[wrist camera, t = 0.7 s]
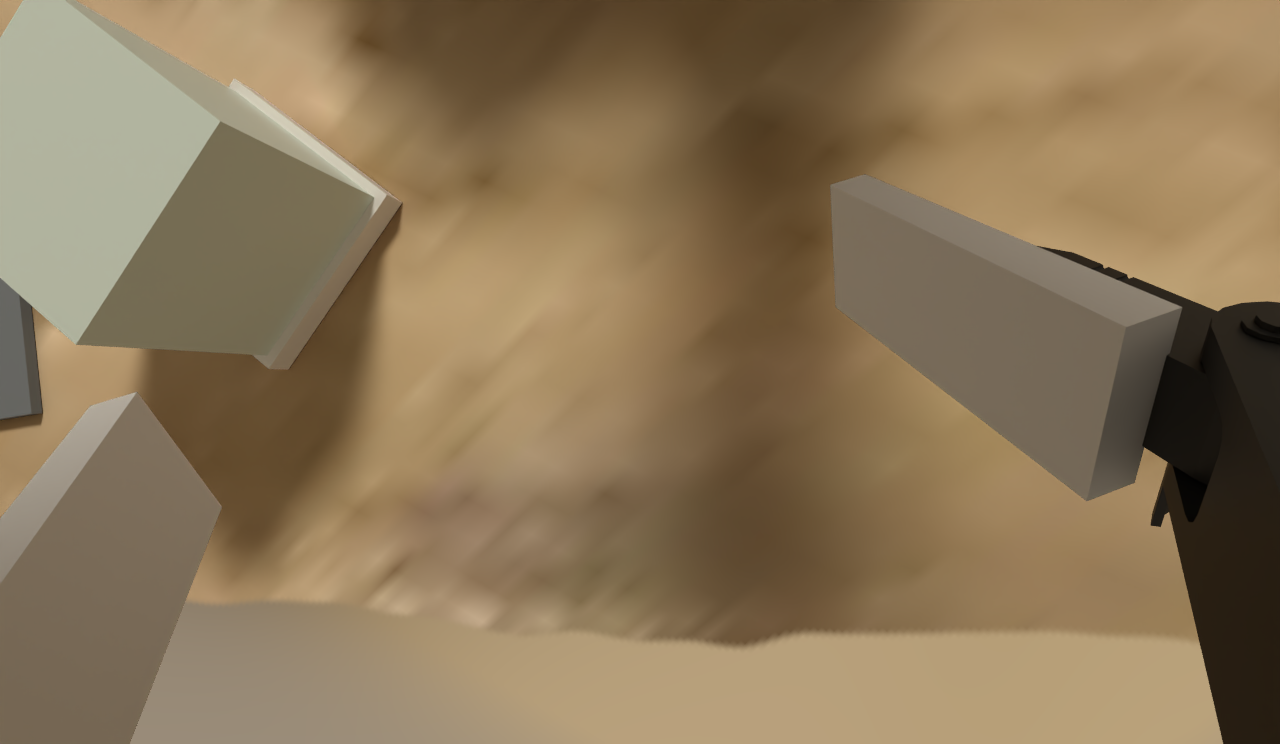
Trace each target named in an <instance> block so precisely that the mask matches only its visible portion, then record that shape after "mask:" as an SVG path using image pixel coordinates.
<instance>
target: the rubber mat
mask: <svg viewBox="0 0 1280 744" xmlns="http://www.w3.org/2000/svg"><path fill="white" fill-rule="evenodd" d="M41 413H42V404H41V395H40V385H39V376H38V366H37V356H36V347H35V337H34V328H33V318H32V309H31V305H30V304H29V303H28V302H27V301H26V300H25V299H24V298H22V297H21V296H20V295H19V294H18V293H17V292H16V291H14V290H13V289H12V288H11V287H10V286H9V285H8V284H7V283H5V282H4V281H3V280H2V279H1V278H0V420H4V419H10V418H16V417H22V416H29V415H35V414H41Z"/></svg>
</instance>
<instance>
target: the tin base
mask: <svg viewBox="0 0 1280 744" xmlns="http://www.w3.org/2000/svg"><path fill="white" fill-rule="evenodd" d="M229 88H231V89H233V90H234V91H236V92H237V93H239V94H240V95H241V96H243V97H244V98H245V99H246V100H248V101H249V102H250V103H252V104H253V105H254V106H256V107H257V108H258V109H260V110H261V111H262V112H263V113H265V114H266V115H267V116H269V117H270V118H271V119H273V120H274V121H275V122H277V123H278V124H279V125H280V126H282V127H283V128H284V129H286V130H287V131H288V132H290V133H291V134H292V135H294V136H295V137H296V138H297V139H299V140H300V141H301V142H303V143H304V144H305V145H307V146H308V147H309V148H311V149H312V150H313V151H314V152H316V153H317V154H318V155H320V156H321V157H322V158H324V159H325V160H326V161H328V162H329V163H330V164H331V165H333V166H334V167H335V168H337V169H338V170H339V171H341V172H342V173H343V174H345V175H346V176H347V177H348V178H350V179H351V180H352V181H354V182H355V183H356V184H358V185H359V186H360V187H361V188H363V189H364V190H365V191H367V192H368V193H369V194H371V195H372V196H373V197H374V199H373V200H372V202H371V203H370V205H369V206H368V208H367V209H366V210H365V212H364V213H363V215H362V216H361V218H360V219H359V221H358V222H357V224H356V225H355V227H354V228H353V230H352V231H351V233H350V234H349V236H348V237H347V238H346V240H345V241H344V243H343V244H342V246H341V247H340V249H339V250H338V252H337V253H336V255H335V256H334V258H333V259H332V261H331V262H330V264H329V265H328V266H327V268H326V269H325V271H324V272H323V274H322V275H321V277H320V278H319V280H318V281H317V283H316V284H315V286H314V287H313V289H312V290H311V292H310V293H309V294H308V296H307V297H306V299H305V300H304V302H303V303H302V305H301V306H300V308H299V309H298V311H297V312H296V314H295V315H294V317H293V318H292V320H291V321H290V323H289V324H288V325H287V327H286V328H285V330H284V331H283V333H282V334H281V336H280V337H279V339H278V340H277V342H276V343H275V345H274V346H273V348H272V349H271V351H270V352H269V353H268V355H267V356H266V355H253V356H254V357H255V358H256V359H257V360H259V361H260V362H261V363H262V364H263V365H264V366H266V367H267V368H268V369H285V370H288V369H289V368H290V366H291V365H292V364H293V362H294V361H295V359H296V358H297V356H298V355H299V353H300V352H301V350H302V349H303V347H304V346H305V344H306V343H307V342H308V340H309V339H310V337H311V336H312V334H313V333H314V331H315V330H316V328H317V327H318V325H319V324H320V323H321V321H322V320H323V318H324V317H325V315H326V314H327V312H328V311H329V309H330V308H331V306H332V305H333V303H334V302H335V301H336V299H337V298H338V296H339V295H340V293H341V292H342V290H343V289H344V287H345V286H346V284H347V283H348V282H349V280H350V279H351V277H352V276H353V274H354V273H355V271H356V270H357V268H358V267H359V265H360V264H361V262H362V261H363V260H364V258H365V257H366V255H367V254H368V252H369V251H370V249H371V248H372V246H373V245H374V243H375V242H376V241H377V239H378V238H379V236H380V235H381V233H382V232H383V230H384V229H385V227H386V226H387V224H388V223H389V221H390V220H391V219H392V217H393V216H394V214H395V213H396V211H397V210H398V208H399V207H400V205H401V204H402V202H401V201H400V200H398V199H397V198H396V197H394V196H393V195H392V194H390V193H389V192H388V191H386V190H385V189H384V188H382V187H381V186H380V185H378V184H377V183H376V182H375V181H373V180H372V179H371V178H369V177H368V176H367V175H365V174H364V173H363V172H361V171H360V170H359V169H357V168H356V167H355V166H353V165H352V164H351V163H350V162H348V161H347V160H346V159H344V158H343V157H342V156H340V155H339V154H338V153H336V152H335V151H334V150H332V149H331V148H330V147H329V146H327V145H326V144H325V143H323V142H322V141H321V140H319V139H318V138H317V137H315V136H314V135H313V134H311V133H310V132H309V131H307V130H306V129H305V128H304V127H302V126H301V125H300V124H298V123H297V122H296V121H294V120H293V119H292V118H290V117H289V116H288V115H286V114H285V113H284V112H282V111H281V110H280V109H279V108H277V107H276V106H275V105H273V104H272V103H271V102H269V101H268V100H267V99H265V98H264V97H263V96H261V95H260V94H259V93H257V92H256V91H255V90H253V89H251V88H250V87H248V86H246V85H245V84H243V83H241V82H240V81H238V80H236V79H235V78H234V79H233V81H232V82H231V84H230V86H229Z"/></svg>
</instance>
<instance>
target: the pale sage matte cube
mask: <svg viewBox="0 0 1280 744" xmlns="http://www.w3.org/2000/svg"><path fill="white" fill-rule="evenodd" d="M373 199H374V197H373V196H372V195H371V194H369V193H368V192H367V191H365V190H364V189H363V188H361V187H360V186H359V185H358V184H356V183H355V182H354V181H352V180H351V179H350V178H348V177H347V176H346V175H345V174H343V173H342V172H341V171H339V170H338V169H337V168H335V167H334V166H333V165H331V164H330V163H329V162H328V161H326V160H325V159H324V158H322V157H321V156H320V155H318V154H317V153H316V152H314V151H313V150H312V149H311V148H309V147H308V146H307V145H305V144H304V143H303V142H301V141H300V140H299V139H297V138H296V137H295V136H294V135H292V134H291V133H290V132H288V131H287V130H286V129H284V128H283V127H282V126H280V125H279V124H278V123H277V122H275V121H274V120H273V119H271V118H270V117H269V116H267V115H266V114H265V113H263V112H262V111H261V110H260V109H258V108H257V107H256V106H254V105H253V104H252V103H250V102H249V101H248V100H246V99H245V98H244V97H243V96H241V95H240V94H239V93H237V92H236V91H234V90H233V89H231V88H229V87H227V86H226V85H224V84H222V83H220V82H218V81H217V80H215V79H213V78H211V77H210V76H208V75H206V74H204V73H203V72H201V71H199V70H197V69H196V68H194V67H192V66H190V65H189V64H187V63H185V62H183V61H181V60H180V59H178V58H176V57H174V56H173V55H171V54H169V53H167V52H166V51H164V50H162V49H160V48H159V47H157V46H155V45H153V44H151V43H150V42H148V41H146V40H144V39H143V38H141V37H139V36H137V35H136V34H134V33H132V32H130V31H129V30H127V29H125V28H123V27H122V26H120V25H118V24H116V23H114V22H113V21H111V20H109V19H107V18H106V17H104V16H102V15H100V14H99V13H97V12H95V11H93V10H92V9H90V8H88V7H86V6H85V5H83V4H81V3H79V2H77V1H76V0H23V1H22V3H21V5H20V6H19V8H18V10H17V11H16V13H15V15H14V16H13V18H12V19H11V21H10V23H9V24H8V26H7V28H6V29H5V31H4V33H3V34H2V36H1V38H0V278H1V279H2V280H3V281H4V282H5V283H7V284H8V285H9V286H10V287H11V288H12V289H13V290H14V291H16V292H17V293H18V294H19V295H20V296H21V297H22V298H24V299H25V300H26V301H27V302H28V303H29V304H30V305H31V306H33V307H34V308H35V309H36V310H37V311H38V312H39V313H41V314H42V315H43V316H44V317H45V318H46V319H47V320H48V321H50V322H51V323H52V324H53V325H54V326H55V327H56V328H58V329H59V330H60V331H61V332H62V333H63V334H64V335H65V336H67V337H68V338H69V339H70V340H71V341H72V342H73V343H75V344H76V345H91V346H109V347H126V348H144V349H161V350H178V351H196V352H213V353H231V354H248V355H266V356H267V355H268V353H269V352H270V351H271V349H272V348H273V346H274V345H275V343H276V342H277V340H278V339H279V337H280V336H281V334H282V333H283V331H284V330H285V328H286V327H287V325H288V324H289V323H290V321H291V320H292V318H293V317H294V315H295V314H296V312H297V311H298V309H299V308H300V306H301V305H302V303H303V302H304V300H305V299H306V297H307V296H308V294H309V293H310V292H311V290H312V289H313V287H314V286H315V284H316V283H317V281H318V280H319V278H320V277H321V275H322V274H323V272H324V271H325V269H326V268H327V266H328V265H329V264H330V262H331V261H332V259H333V258H334V256H335V255H336V253H337V252H338V250H339V249H340V247H341V246H342V244H343V243H344V241H345V240H346V238H347V237H348V236H349V234H350V233H351V231H352V230H353V228H354V227H355V225H356V224H357V222H358V221H359V219H360V218H361V216H362V215H363V213H364V212H365V210H366V209H367V208H368V206H369V205H370V203H371V202H372V200H373Z"/></svg>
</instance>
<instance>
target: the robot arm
mask: <svg viewBox="0 0 1280 744" xmlns="http://www.w3.org/2000/svg"><path fill="white" fill-rule="evenodd" d="M830 190H831V213H832V236H833V258H834V281H835V304H836V308H837V309H839V310H840V311H841V312H843V313H844V314H845V315H847V316H848V317H849V318H850V319H852V320H853V321H854V322H856V323H857V324H858V325H859V326H861V327H862V328H863V329H865V330H866V331H867V332H869V333H870V334H871V335H872V336H874V337H875V338H876V339H878V340H879V341H880V342H881V343H883V344H884V345H885V346H887V347H888V348H889V349H891V350H892V351H893V352H894V353H896V354H897V355H898V356H900V357H901V358H902V359H903V360H905V361H906V362H907V363H909V364H910V365H911V366H912V367H914V368H915V369H916V370H918V371H919V372H920V373H922V374H923V375H924V376H925V377H927V378H928V379H929V380H931V381H932V382H933V383H934V384H936V385H937V386H938V387H940V388H941V389H942V390H944V391H945V392H946V393H947V394H949V395H950V396H951V397H953V398H954V399H955V400H956V401H958V402H959V403H960V404H962V405H963V406H964V407H966V408H967V409H968V410H969V411H971V412H972V413H973V414H975V415H976V416H977V417H978V418H980V419H981V420H982V421H984V422H985V423H986V424H988V425H989V426H990V427H991V428H993V429H994V430H995V431H997V432H998V433H999V434H1000V435H1002V436H1003V437H1004V438H1006V439H1007V440H1008V441H1010V442H1011V443H1012V444H1013V445H1015V446H1016V447H1017V448H1019V449H1020V450H1021V451H1022V452H1024V453H1025V454H1026V455H1028V456H1029V457H1030V458H1032V459H1033V460H1034V461H1035V462H1037V463H1038V464H1039V465H1041V466H1042V467H1043V468H1044V469H1046V470H1047V471H1048V472H1050V473H1051V474H1052V475H1054V476H1055V477H1056V478H1057V479H1059V480H1060V481H1061V482H1063V483H1064V484H1065V485H1066V486H1068V487H1069V488H1070V489H1072V490H1073V491H1074V492H1075V493H1077V494H1078V495H1079V496H1081V497H1082V498H1083V499H1085V500H1086V501H1089V500H1091V499H1094V498H1096V497H1099V496H1101V495H1104V494H1107V493H1109V492H1112V491H1114V490H1117V489H1120V488H1122V487H1125V486H1127V485H1130V484H1132V483H1135V479H1136V475H1137V472H1138V468H1139V464H1140V461H1141V457H1142V453H1143V450H1144V447H1145V448H1146V449H1148V450H1150V451H1151V452H1153V453H1154V454H1156V455H1157V456H1159V457H1161V458H1162V459H1164V460H1165V461H1167V462H1168V463H1167V467H1166V470H1165V473H1164V477H1163V480H1162V483H1161V487H1160V490H1159V493H1158V497H1157V500H1156V503H1155V506H1154V510H1153V513H1152V519H1151V526H1158V527H1161V524H1162V521H1163V518H1164V515H1165V514H1166V513H1168V512H1169V513H1170V517H1171V522H1172V526H1173V530H1174V535H1175V539H1176V543H1177V547H1178V552H1179V556H1180V560H1181V565H1182V569H1183V573H1184V577H1185V582H1186V586H1187V590H1188V594H1189V599H1190V603H1191V607H1192V612H1193V616H1194V620H1195V624H1196V629H1197V633H1198V637H1199V642H1200V646H1201V650H1202V654H1203V658H1204V663H1205V667H1206V671H1207V676H1208V680H1209V684H1210V689H1211V693H1212V697H1213V701H1214V705H1215V710H1216V714H1217V719H1218V723H1219V727H1220V731H1221V735H1222V740H1223V744H1280V303H1277V302H1250V303H1240V304H1236V305H1232V306H1229V307H1225V308H1222V309H1221V310H1220V311H1215V310H1213V309H1210V308H1208V307H1206V306H1203V305H1201V304H1198V303H1196V302H1193V301H1191V300H1188V299H1186V298H1183V297H1181V296H1178V295H1176V294H1174V293H1171V292H1169V291H1166V290H1164V289H1161V288H1159V287H1156V286H1154V285H1151V284H1149V283H1146V282H1144V281H1142V280H1139V279H1137V278H1134V277H1133V278H1130V279H1129V278H1128V277H1127V274H1124V273H1122V272H1119V271H1117V270H1114V269H1112V268H1110V267H1108V268H1105V269H1104V268H1103V265H1102V264H1100V263H1097V262H1095V261H1092V260H1090V259H1087V258H1085V257H1082V256H1080V255H1078V254H1075V253H1072V252H1066V251H1061V250H1056V249H1050V248H1045V247H1040V246H1035V245H1033V244H1030V243H1028V242H1026V241H1023V240H1021V239H1018V238H1016V237H1014V236H1011V235H1009V234H1007V233H1004V232H1002V231H999V230H997V229H995V228H992V227H990V226H987V225H985V224H983V223H980V222H978V221H976V220H973V219H971V218H968V217H966V216H964V215H961V214H959V213H956V212H954V211H952V210H949V209H947V208H945V207H942V206H940V205H937V204H935V203H933V202H930V201H928V200H926V199H923V198H921V197H918V196H916V195H914V194H911V193H909V192H906V191H904V190H902V189H899V188H897V187H895V186H892V185H890V184H887V183H885V182H883V181H880V180H878V179H876V178H873V177H871V176H868V175H866V174H864V175H861V176H857V177H854V178H851V179H847V180H844V181H841V182H837V183H834V184H831V185H830ZM221 508H222V506H221V505H220V503H219V502H218V500H217V499H216V498H215V496H214V495H213V494H212V492H211V491H210V490H209V488H208V487H207V486H206V484H205V483H204V482H203V480H202V479H201V477H200V476H199V475H198V473H197V472H196V471H195V469H194V468H193V467H192V465H191V464H190V463H189V461H188V460H187V459H186V457H185V456H184V455H183V453H182V452H181V450H180V449H179V448H178V446H177V445H176V444H175V442H174V441H173V440H172V438H171V437H170V436H169V434H168V433H167V432H166V430H165V429H164V427H163V426H162V425H161V423H160V422H159V421H158V419H157V418H156V417H155V415H154V414H153V413H152V411H151V410H150V409H149V407H148V406H147V405H146V403H145V402H144V400H143V399H142V398H141V396H140V395H139V394H138V392H135V393H132V394H128V395H125V396H122V397H118V398H115V399H112V400H108V401H105V402H102V403H98V404H95V405H91V406H90V407H89V408H88V409H87V411H86V412H85V413H84V414H83V416H82V417H81V418H80V419H79V421H78V422H77V423H76V424H75V426H74V427H73V428H72V429H71V431H70V432H69V433H68V434H67V436H66V437H65V438H64V439H63V441H62V442H61V443H60V444H59V446H58V447H57V448H56V449H55V451H54V452H53V453H52V454H51V456H50V457H49V458H48V459H47V461H46V462H45V463H44V464H43V466H42V467H41V468H40V469H39V471H38V472H37V473H36V474H35V476H34V477H33V478H32V479H31V481H30V482H29V483H28V484H27V486H26V487H25V488H24V489H23V491H22V492H21V493H20V494H19V496H18V497H17V498H16V499H15V501H14V502H13V503H12V504H11V506H10V507H9V508H8V509H7V511H6V512H5V513H4V514H3V516H2V517H1V518H0V744H130V741H131V739H132V736H133V734H134V731H135V729H136V726H137V724H138V721H139V718H140V716H141V713H142V711H143V708H144V706H145V703H146V701H147V698H148V695H149V693H150V690H151V688H152V685H153V683H154V680H155V677H156V675H157V672H158V670H159V667H160V665H161V662H162V660H163V657H164V654H165V652H166V649H167V647H168V644H169V642H170V639H171V636H172V634H173V631H174V629H175V626H176V623H177V621H178V618H179V616H180V613H181V611H182V608H183V606H184V603H185V601H186V598H187V595H188V593H189V590H190V588H191V585H192V583H193V580H194V577H195V575H196V572H197V570H198V567H199V565H200V562H201V560H202V557H203V554H204V552H205V549H206V547H207V544H208V542H209V539H210V536H211V534H212V531H213V529H214V526H215V524H216V521H217V519H218V516H219V513H220V511H221Z"/></svg>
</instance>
